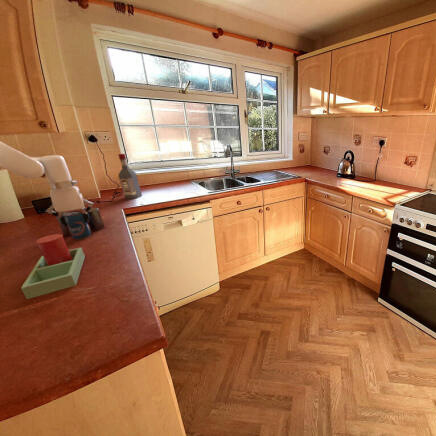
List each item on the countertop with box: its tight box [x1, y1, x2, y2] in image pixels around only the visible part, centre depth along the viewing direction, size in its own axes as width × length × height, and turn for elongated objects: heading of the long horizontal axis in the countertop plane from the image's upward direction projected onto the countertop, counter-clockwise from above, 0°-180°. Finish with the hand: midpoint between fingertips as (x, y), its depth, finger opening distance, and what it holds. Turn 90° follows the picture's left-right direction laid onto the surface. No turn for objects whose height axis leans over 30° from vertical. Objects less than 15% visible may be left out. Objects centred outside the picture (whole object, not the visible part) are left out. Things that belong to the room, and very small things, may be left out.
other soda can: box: [35, 233, 73, 266], centre depth 86 cm, size 7×7×12 cm
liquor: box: [118, 153, 143, 200], centre depth 168 cm, size 9×9×30 cm
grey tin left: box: [55, 211, 72, 237], centre depth 116 cm, size 6×6×10 cm
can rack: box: [20, 247, 86, 300], centre depth 83 cm, size 12×22×5 cm, turn 32°
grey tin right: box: [87, 207, 106, 232], centre depth 121 cm, size 6×6×10 cm
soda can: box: [65, 210, 92, 241], centre depth 111 cm, size 7×7×12 cm
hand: (77, 222), depth 111 cm, fingers closed on soda can, 7 cm apart
